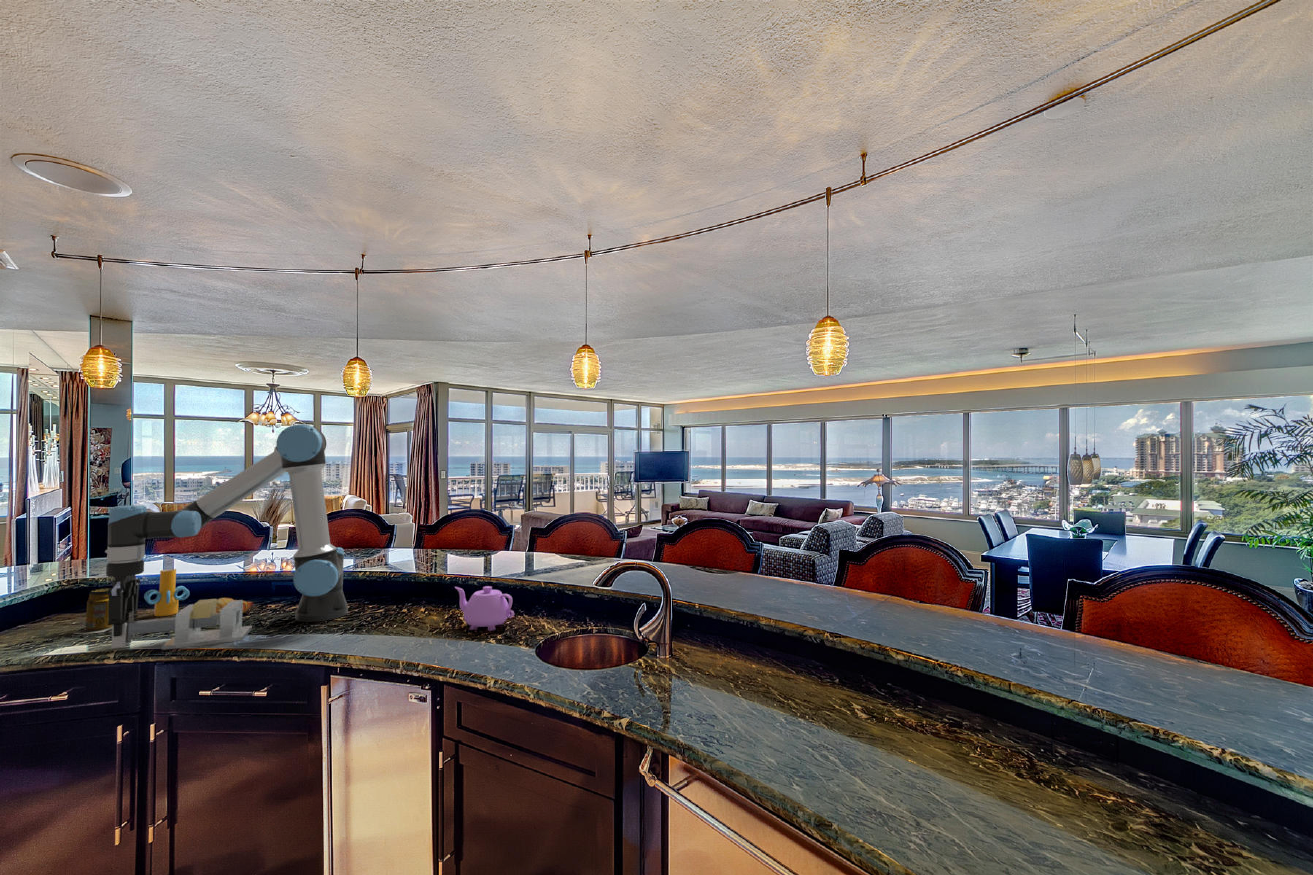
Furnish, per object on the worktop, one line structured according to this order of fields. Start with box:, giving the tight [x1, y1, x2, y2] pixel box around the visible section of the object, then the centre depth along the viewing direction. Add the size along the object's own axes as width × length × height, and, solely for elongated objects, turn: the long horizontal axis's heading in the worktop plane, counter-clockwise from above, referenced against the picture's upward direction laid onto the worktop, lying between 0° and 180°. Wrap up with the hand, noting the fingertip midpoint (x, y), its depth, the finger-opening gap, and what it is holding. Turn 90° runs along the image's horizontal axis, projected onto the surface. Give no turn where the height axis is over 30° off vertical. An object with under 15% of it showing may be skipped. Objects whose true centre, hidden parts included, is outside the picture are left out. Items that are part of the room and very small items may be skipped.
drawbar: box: [125, 610, 220, 642], centre depth 153 cm, size 23×3×8 cm, turn 116°
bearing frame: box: [161, 599, 253, 651], centre depth 157 cm, size 18×12×9 cm, turn 116°
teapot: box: [454, 585, 515, 632], centre depth 171 cm, size 20×14×12 cm
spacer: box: [192, 598, 217, 619], centre depth 156 cm, size 4×6×4 cm, turn 26°
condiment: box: [72, 588, 113, 635], centre depth 165 cm, size 7×8×12 cm
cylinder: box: [143, 568, 190, 617], centre depth 182 cm, size 12×10×15 cm
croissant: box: [215, 597, 254, 614], centre depth 177 cm, size 21×10×8 cm, turn 162°
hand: (122, 644), depth 148 cm, fingers closed on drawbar, 3 cm apart
